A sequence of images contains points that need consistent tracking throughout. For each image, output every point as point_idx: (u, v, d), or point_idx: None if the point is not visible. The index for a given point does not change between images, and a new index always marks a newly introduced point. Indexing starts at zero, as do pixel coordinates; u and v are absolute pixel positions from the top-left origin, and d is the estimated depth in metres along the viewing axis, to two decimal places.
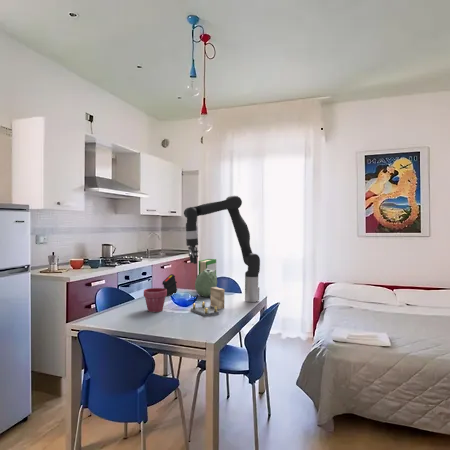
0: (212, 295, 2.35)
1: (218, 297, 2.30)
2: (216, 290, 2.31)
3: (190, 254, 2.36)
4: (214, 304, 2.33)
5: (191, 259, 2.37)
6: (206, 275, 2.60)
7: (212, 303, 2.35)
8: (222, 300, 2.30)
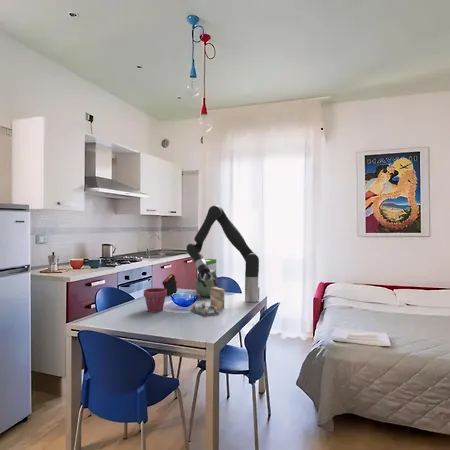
0: (212, 295, 2.35)
1: (218, 297, 2.30)
2: (216, 290, 2.31)
3: (211, 279, 2.45)
4: (214, 304, 2.33)
5: (214, 283, 2.44)
6: None
7: (212, 303, 2.35)
8: (222, 300, 2.30)
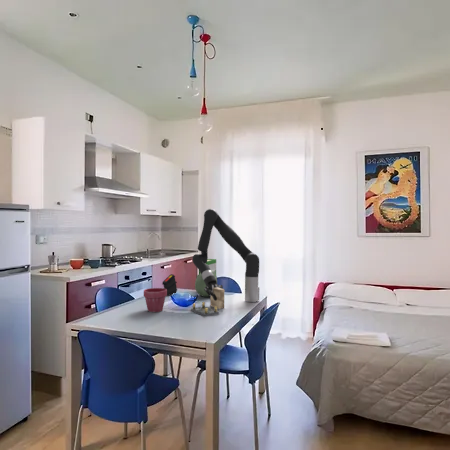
0: None
1: (218, 297, 2.30)
2: (216, 290, 2.31)
3: None
4: (214, 304, 2.33)
5: None
6: None
7: (212, 303, 2.35)
8: (222, 300, 2.30)
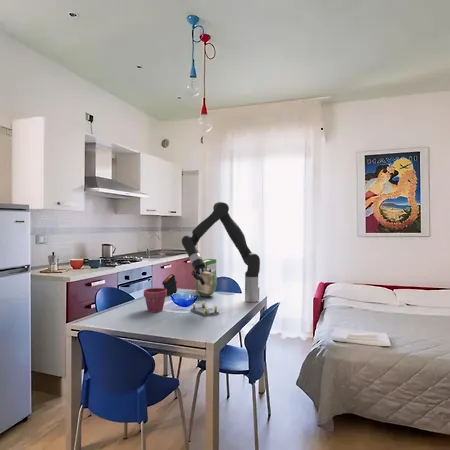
0: None
1: (205, 281, 2.17)
2: (204, 274, 2.18)
3: None
4: (201, 289, 2.20)
5: None
6: None
7: (199, 288, 2.22)
8: (210, 284, 2.17)
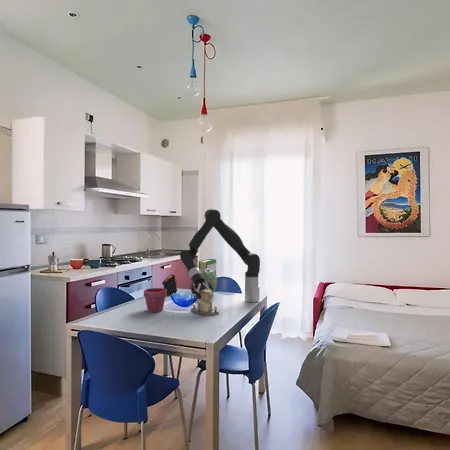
0: None
1: (205, 299, 2.15)
2: (203, 292, 2.17)
3: None
4: (201, 307, 2.19)
5: None
6: (206, 275, 2.60)
7: (199, 306, 2.21)
8: (209, 303, 2.16)
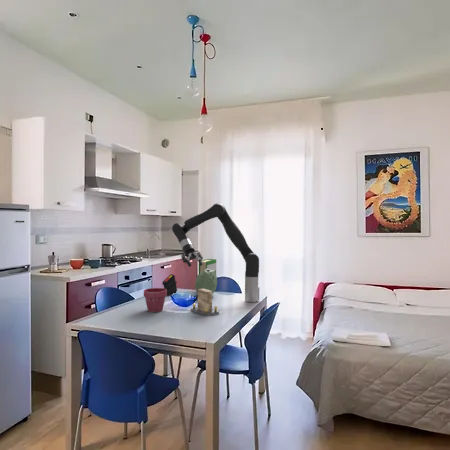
0: (199, 298, 2.20)
1: (205, 299, 2.15)
2: (203, 292, 2.17)
3: (196, 259, 2.43)
4: (201, 307, 2.19)
5: (199, 262, 2.41)
6: (206, 275, 2.60)
7: (199, 306, 2.21)
8: (209, 303, 2.16)
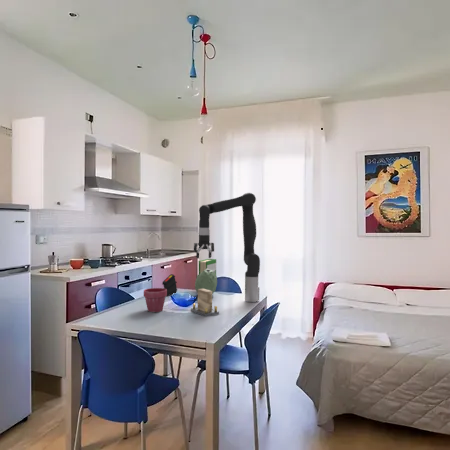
0: (199, 298, 2.20)
1: (205, 299, 2.15)
2: (203, 292, 2.17)
3: (207, 249, 2.49)
4: (201, 307, 2.19)
5: (209, 254, 2.49)
6: (206, 275, 2.60)
7: (199, 306, 2.21)
8: (209, 303, 2.16)
